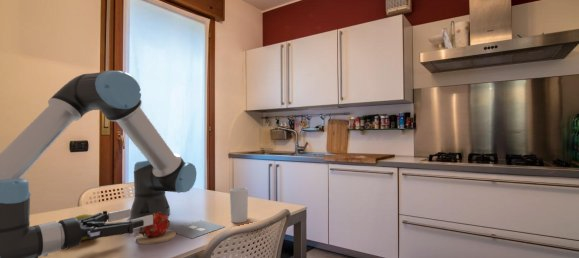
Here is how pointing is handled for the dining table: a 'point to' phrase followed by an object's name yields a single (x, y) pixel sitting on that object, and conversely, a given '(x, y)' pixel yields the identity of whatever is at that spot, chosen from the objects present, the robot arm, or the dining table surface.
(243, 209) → the mug
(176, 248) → the dining table surface
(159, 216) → the dragon fruit
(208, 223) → the grey square tile
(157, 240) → the coaster
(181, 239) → the dining table surface
